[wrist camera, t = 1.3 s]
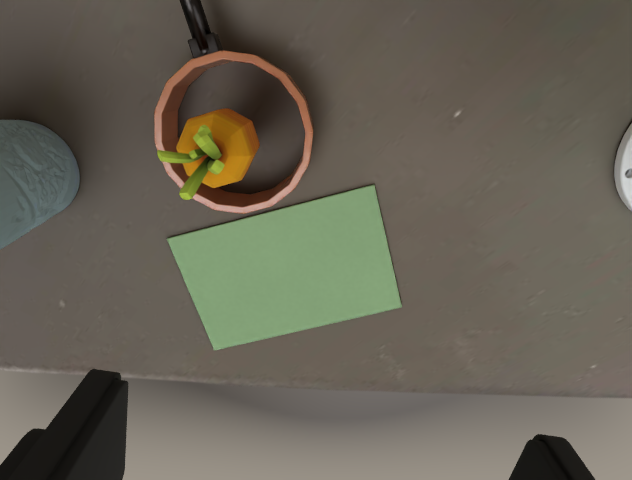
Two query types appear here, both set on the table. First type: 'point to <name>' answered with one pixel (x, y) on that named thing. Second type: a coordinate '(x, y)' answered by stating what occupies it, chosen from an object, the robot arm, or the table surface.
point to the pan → (166, 111)
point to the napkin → (289, 268)
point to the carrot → (214, 150)
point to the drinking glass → (33, 177)
